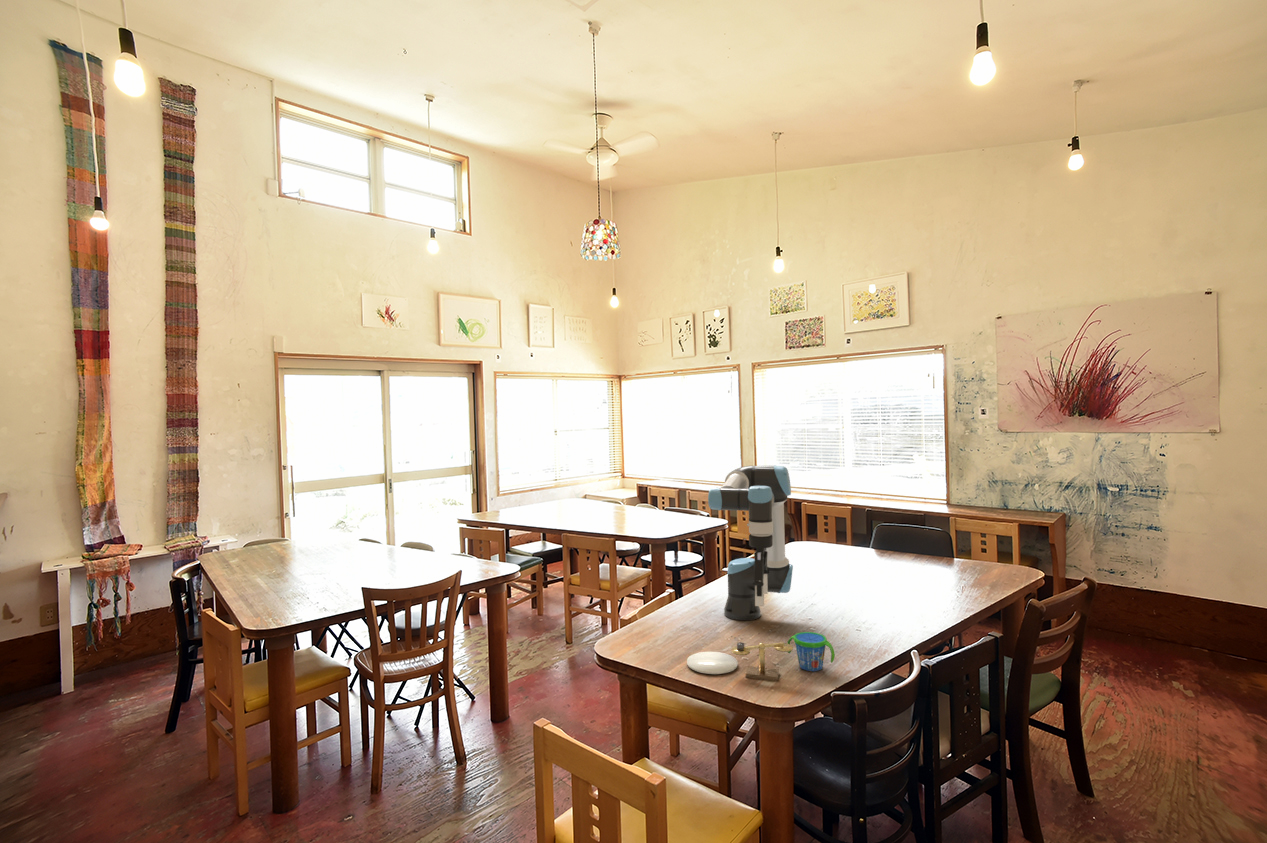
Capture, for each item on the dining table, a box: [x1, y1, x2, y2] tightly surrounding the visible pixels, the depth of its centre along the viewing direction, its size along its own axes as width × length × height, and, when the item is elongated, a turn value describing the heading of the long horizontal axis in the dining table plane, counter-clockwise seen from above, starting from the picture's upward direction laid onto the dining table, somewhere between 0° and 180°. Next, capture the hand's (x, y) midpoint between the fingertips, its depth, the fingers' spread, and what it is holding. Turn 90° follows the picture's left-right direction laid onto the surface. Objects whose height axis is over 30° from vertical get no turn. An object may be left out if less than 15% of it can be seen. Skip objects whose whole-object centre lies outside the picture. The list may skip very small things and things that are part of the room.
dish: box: [686, 651, 739, 675], centre depth 204 cm, size 17×17×1 cm
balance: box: [731, 641, 794, 682], centre depth 196 cm, size 6×20×11 cm, turn 73°
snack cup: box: [787, 631, 836, 672], centre depth 201 cm, size 16×10×10 cm
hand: (761, 599), depth 196 cm, fingers open, 13 cm apart
